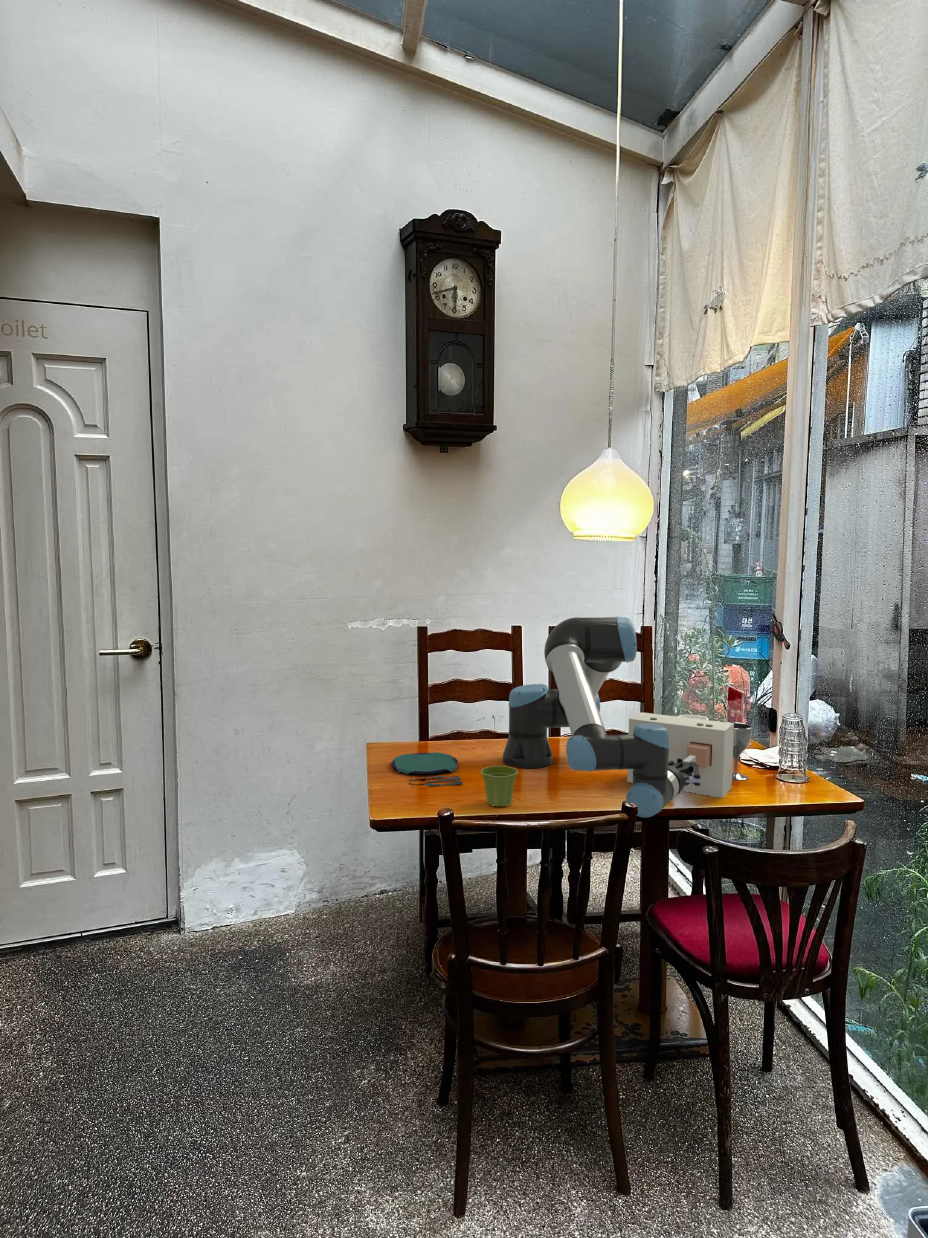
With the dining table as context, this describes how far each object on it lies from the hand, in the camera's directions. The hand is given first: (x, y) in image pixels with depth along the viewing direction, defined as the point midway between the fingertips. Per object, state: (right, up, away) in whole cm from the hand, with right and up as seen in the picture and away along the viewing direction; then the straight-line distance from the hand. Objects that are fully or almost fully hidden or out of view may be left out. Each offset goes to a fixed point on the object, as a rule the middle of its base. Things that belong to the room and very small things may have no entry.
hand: (692, 760), depth 200 cm
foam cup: (+12, -7, +42) cm, 44 cm away
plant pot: (-50, -11, -1) cm, 51 cm away
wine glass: (+19, -9, +24) cm, 32 cm away
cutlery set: (-69, -9, +28) cm, 75 cm away
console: (+1, -10, +15) cm, 18 cm away
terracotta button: (+4, -2, +6) cm, 7 cm away
